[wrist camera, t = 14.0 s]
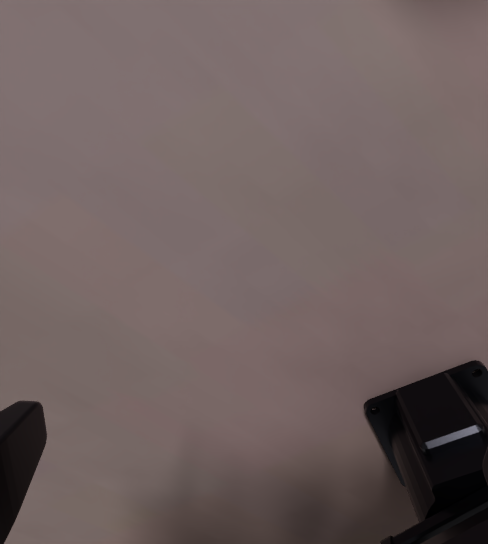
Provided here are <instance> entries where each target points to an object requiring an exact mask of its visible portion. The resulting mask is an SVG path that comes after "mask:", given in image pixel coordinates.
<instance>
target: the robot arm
mask: <svg viewBox="0 0 488 544" xmlns="http://www.w3.org/2000/svg"><path fill="white" fill-rule="evenodd" d="M476 369H479V370H478V371H477V372H475V373H472V372H473V371H474V370H476ZM373 407H378V408H377V409H375V410H372V408H373ZM364 408H365V411H366V414H367V416H368V418H369V420H370V422H371V424H372V426H373V428H374V430H375V432H376V434H377V436H378V438H379V440H380V442H381V444H382V446H383V448H384V450H385V452H386V454H387V456H388V458H389V460H390V462H391V464H392V466H393V468H394V470H395V472H396V474H397V476H398V478H399V480H400V482H401V484H402V485H403V486H405V487H406V488H407V491H408V494H409V496H410V499H411V502H412V504H413V507H414V510H415V512H416V515H417V518H418V520H419V523H418V524H416V525H414V526H412V527H411V528H409V529H407V530H405V531H403V532H402V533H400V534H398V535H396V536H394V537H393V536H389V537H387V538H386V539H384V540H382V541H381V544H488V371H487V369H486V367H485V366H484V365H483V364H482V362H480V361H470V362H468V363H465V364H462V365H460V366H457V367H454V368H452V369H449V370H446V371H444V372H441V373H438V374H436V375H433V376H430V377H428V378H425V379H422V380H420V381H417V382H414V383H412V384H409V385H406V386H404V387H401V388H398V389H396V390H393V391H391V392H388V393H385V394H383V395H380V396H377V397H375V398H372V399H370V400H368V401H367V402H366V403H365V405H364ZM46 439H47V432H46V425H45V419H44V412H43V407H42V405H41V403H39V402H36V401H18V402H16V403H14V404H12V405H11V406H9V407H7V408H6V409H4V410H2V411H0V544H4V542H5V540H6V538H7V536H8V534H9V532H10V530H11V528H12V526H13V524H14V522H15V520H16V518H17V515H18V513H19V511H20V508H21V506H22V503H23V501H24V498H25V496H26V493H27V490H28V488H29V485H30V483H31V480H32V478H33V475H34V473H35V470H36V468H37V465H38V463H39V460H40V458H41V455H42V452H43V450H44V447H45V444H46Z"/></svg>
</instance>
